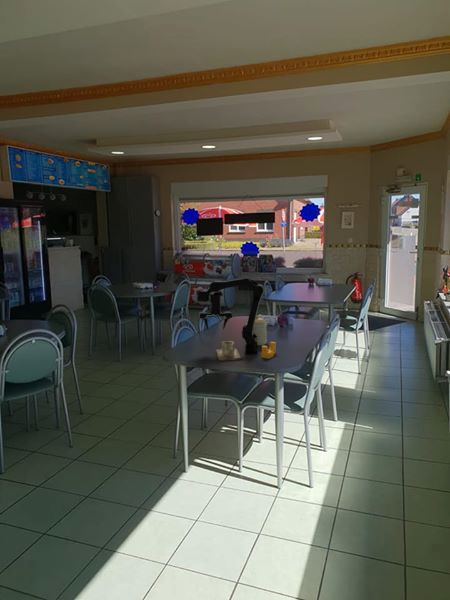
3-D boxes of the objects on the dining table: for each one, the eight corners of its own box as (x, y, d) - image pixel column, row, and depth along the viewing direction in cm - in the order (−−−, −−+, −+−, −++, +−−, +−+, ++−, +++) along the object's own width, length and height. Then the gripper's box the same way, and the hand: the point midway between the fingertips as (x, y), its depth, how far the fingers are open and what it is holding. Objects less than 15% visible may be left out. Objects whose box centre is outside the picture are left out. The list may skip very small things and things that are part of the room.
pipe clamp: (268, 359, 254) (268, 347, 253) (261, 357, 256) (261, 346, 255) (278, 353, 264) (278, 342, 263) (271, 352, 266) (271, 341, 265)
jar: (242, 344, 283) (242, 316, 280) (249, 339, 295) (249, 312, 292) (263, 346, 279) (263, 317, 276) (269, 341, 291) (269, 313, 288)
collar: (233, 351, 264) (233, 341, 263) (234, 354, 257) (234, 344, 256) (221, 351, 263) (221, 341, 262) (222, 355, 257) (222, 344, 256)
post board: (236, 350, 270) (236, 341, 269) (240, 359, 252) (240, 349, 251) (216, 351, 269) (216, 342, 268) (218, 360, 251) (218, 350, 250)
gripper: (229, 300, 276) (229, 326, 279) (198, 300, 274) (198, 326, 277) (232, 303, 265) (232, 330, 268) (199, 304, 263) (199, 331, 266)
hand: (215, 329), depth 270 cm, fingers open, 9 cm apart
